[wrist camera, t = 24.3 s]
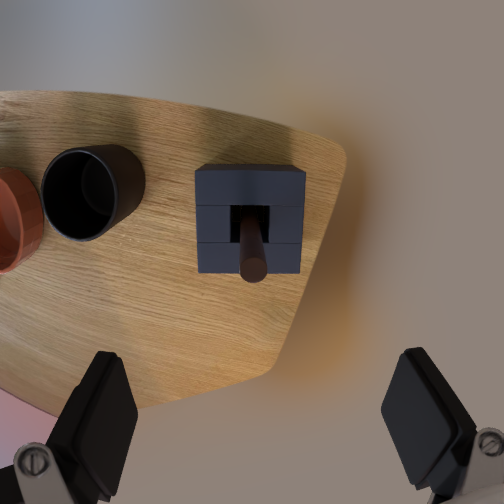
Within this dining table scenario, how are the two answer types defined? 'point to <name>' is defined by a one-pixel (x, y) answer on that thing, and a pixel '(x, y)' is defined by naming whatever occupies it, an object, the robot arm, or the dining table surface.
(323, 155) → the dining table surface
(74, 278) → the dining table surface
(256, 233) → the stick
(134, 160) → the mug
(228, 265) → the holder
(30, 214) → the bowl
